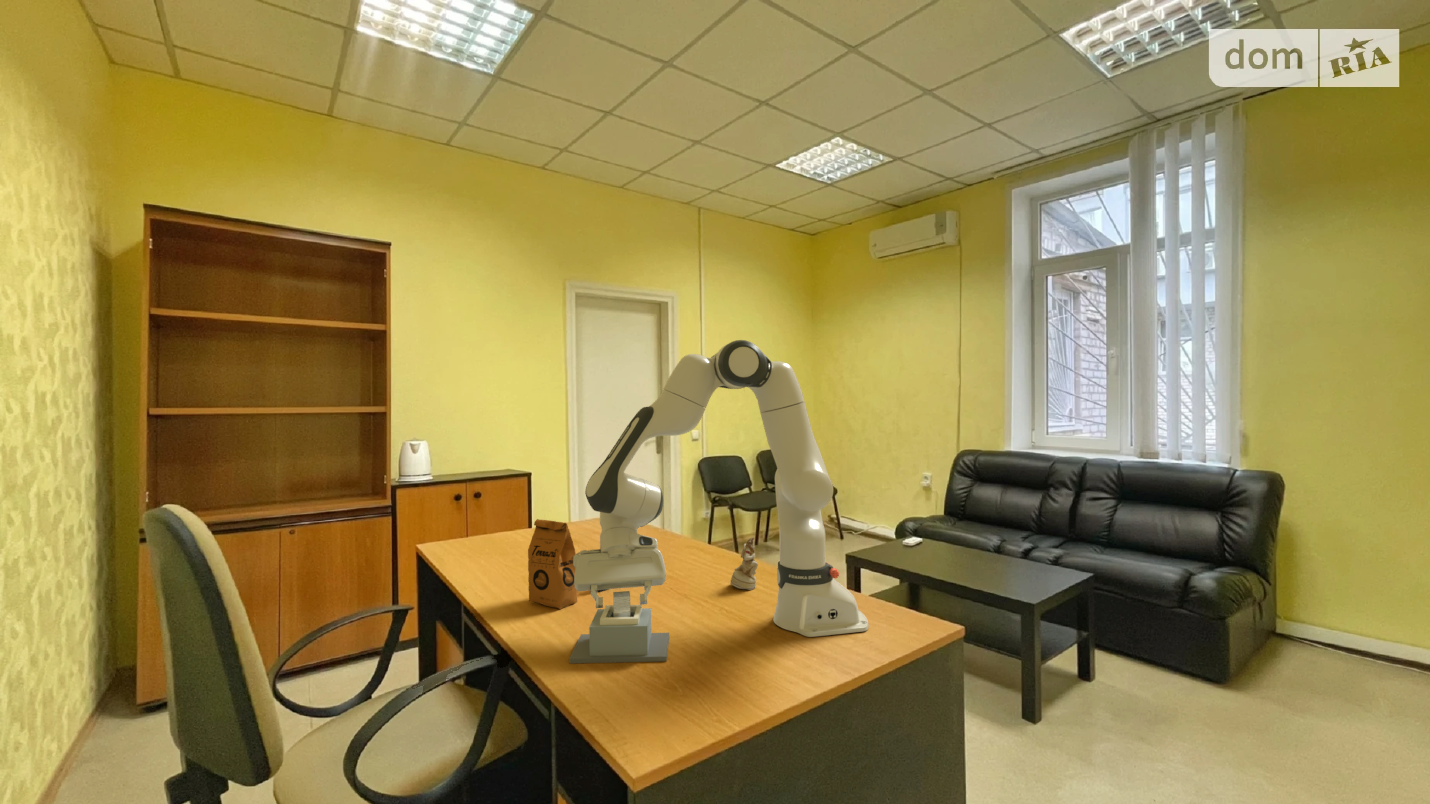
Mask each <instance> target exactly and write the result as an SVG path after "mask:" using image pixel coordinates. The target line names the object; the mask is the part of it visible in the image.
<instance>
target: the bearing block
mask: <svg viewBox="0 0 1430 804" xmlns="http://www.w3.org/2000/svg"><path fill="white" fill-rule="evenodd" d="M604 609H605V608H597V610H596V612H595V614H594V617H593V619H592V621H591V623H590V625H589V629H588V630H589V633H584V634H582V633H581V634H580V636H579V637H578V640H577V641H576V644H575V645H574V648H573V650H572V652H571V654H570V656H569V658H568V663H569V664H596V663H597V664H601V663H602V664H605V663H608V664H609V663H611V664H612V663H644V662H645V663H646V662H647V663H648V662H651V663H652V662H653V663H654V662H667V660H668V653H669V644H670V632H652V608H650V607H649V608H645V607H644V608H643V607H642V612H641V616H640V619H639V623H638V624H627V625H600V618H601V616H602V613H603V611H604ZM634 615H635V612H630V617H634ZM608 617H613V612H610V613H609V616H608Z"/></svg>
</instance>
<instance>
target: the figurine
mask: <svg viewBox="0 0 1430 804" xmlns="http://www.w3.org/2000/svg"><path fill="white" fill-rule="evenodd" d="M740 558H742V562H741V564H740V565H739V566H738V567H736V568H734V571H733V572H732V575H731V579H730V585H731V586H733V587H735V588H737V589H742V590H748V591H752V590H754V589H756V587H757V577H756V576H755V575H756V574H757V569H758V566H759V563H758V562H757V561H756V560H755V559H756V553H755V537H751V538H749V539H748V540H747V541H746V543H743V548H742V551H741V554H740Z"/></svg>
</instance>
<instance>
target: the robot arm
mask: <svg viewBox="0 0 1430 804" xmlns="http://www.w3.org/2000/svg"><path fill="white" fill-rule="evenodd" d="M798 380H799V379H798V378H797V375H796V373H795V371H794V368H793V367H792V366H791V365H790V364H789V363H787V362H784V361H779V360H775V361H774V360H773V361H771V359H770V358H769V357H768V356H767V355H766V354H765V353H764V351H762V349H760V348H759V347H758V346H757V345H756V344H754V343H753V342H751V341H750V340H743V339H738V340H733V341H731V342H729V343H727V344H724V346H722V347H721V348H720V349H719V350H718V351H717V352H716V353H715V354H714V355H712V356H711V357H706V356H704V355H701V354H696V353H690V354H686V355H684V356H683V357H682V358H680V361H679V362H678V363H677V364H676V366H675V367H674V368H673V370H672V372H671V374H670V376H669V378H668V379H667V381H666V383H665V385H664V387H663V389H662V392H661V393H660V395H659V397H657V399H656V400H655V401H654V402H652V404H650V405H649V406H644V407H642V408H640V409H639V410H638V411H637V412H636V414H635V415H634V417H632V419H631V421H629V423H628V424H627V426H626V428H625V429H624V431H623V432H622V433H621V434H620V437H619V438H618V439H617V441H616V443H615V444H614V446H613V447H612V449H611V450H610V451H609V453H608V454H607V456H606V458H605V459H604V460H603V462H602V463H600V465H599V467H597V469H595V471H594V472H593V474H591V476H590V478H589V479H588V482H587V484H586V487H585V492H584V493H585V496H586V500H587V502H588V504H589V506H590V508H591V509H592V510H593V511H595V512H599V525H600V528H601V532H600V535H599V544H600V545H599V546H600V547H599V549H598V548H597V549H588V550H587V549H583V550H580V551H579V552H577V553H576V554H575V556H574V558H573V565H574V567H575V568H576V569H575V577H574V587H575V588H576V590H577V592H586V591H590V595H591V597H592V599H593V600H594V601H595V609H604V602H603V601H604V597H603V596H599V595H598V591H597V590H603V589H609V590H617V589H628V588H629V589H630V588H641V587H643V588H644V592H643V593H639V605H642V606H643V605H647V604H648V597H649V596H648V595H649V594H650V592H651V590H652V587H654V586H655V587H656V586H663V585H664V584H665V582H666V579H667V570H666V565H665V560H664V557H663V554H662V552H661V550H659V544H658V540H657V538H655V537H651V536H648V535H643V534H639V533H638V530H639V528H642V527H645V526H646V525H648V524H650V523H651V522H653V521H654V520H655V519H657V518H658V517H659V516H661V515H660V514H662V512H663V507H664V495H663V491H662V489H661V487H660V486H659V485H658V484H656V483H654V482H652V481H649V480H646V479H643V478H640V477H637V476H634V475H632V474H631V475H630V474H628V473H625V471H626V469H627V467H628V466H629V464H630V463H631V461H632V460H633V458H634V457H635V456H636V454H637V452H638V451H639V449H640V448H641V446H642V445H643V443H645V442H646V441H647V440H649V439H651V438H656V437H662V436H663V437H664V436H666V437H667V436H669V437H670V436H675V437H676V436H681V435H684V434H687V433H689V432H691V431H693V430H694V429H695V428H697V426H698V425H699V423H700V421H701V419H702V418H703V416H704V413H705V410H706V408H707V406H708V405H709V401H710V400H711V397H712V396H713V393H715V391H716V390H717V389H719V388H723V389H728V390H729V389H731V390H739V389H745V388H748V389H750V390H751V391H752V392H753V394H754V395H755V398H756V400H757V405H758V409H759V413H760V416H761V421H762V425H763V428H764V432H765V436H766V441H767V444H768V446H769V448H770V451H771V454H772V457H773V460H774V463H775V466H776V468H777V469H776V471H775V474H774V488H775V503H776V511H777V521H778V533H779V540H778V541H779V561H778V562H777V568H776V570H777V572H776V573H777V574H776V575H777V579H776V580H777V585H778V593H777V600H776V601H777V602H776V607H775V611H774V615H773V618H772V620H773V623H774V624H775V625H777V626H778V627H780V628H782V629H784V630H786V631H791V632H794V633H798V634H800V635H802V636H804V637H807V638H814V637H823V636H831V635H833V636H834V635H841V634H843V635H844V634H850V633H859V632H867V630H868V629H869V621H868V618H867V617H866V615H865V614H864V613H863V612H862V611H861V610H859V607H858V603H857V601H856V597H855V596H854V594H853V593H852V592H851V591H850V590H849V589H848V588H846V587H845V586H843V585H842V584H841V583H840V582H838V580H836V579H838V578H839V577H840V576H839V575H840V572H839V570H838V569H837V568H835V567H834V566H833V565H831V564H830V563H829V562H826V529H825V525H824V521H823V516H822V509H824V508H826V507H828V505H829V504H830V503H831V501H832V500H833V499H832V498H833V495H834V486H833V485H834V484H833V482H832V480H831V479H832V478H830V477H831V476H829V472H828V469H827V466H826V464H825V460H824V458H823V456H822V453H821V450H820V447H819V445H818V443H817V441H816V438H815V435H814V432H813V428H812V425H811V420H810V417H809V414H808V409H807V406H806V402H805V398H804V394H803V391H802V388H801V384H800V382H799V381H798Z"/></svg>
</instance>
